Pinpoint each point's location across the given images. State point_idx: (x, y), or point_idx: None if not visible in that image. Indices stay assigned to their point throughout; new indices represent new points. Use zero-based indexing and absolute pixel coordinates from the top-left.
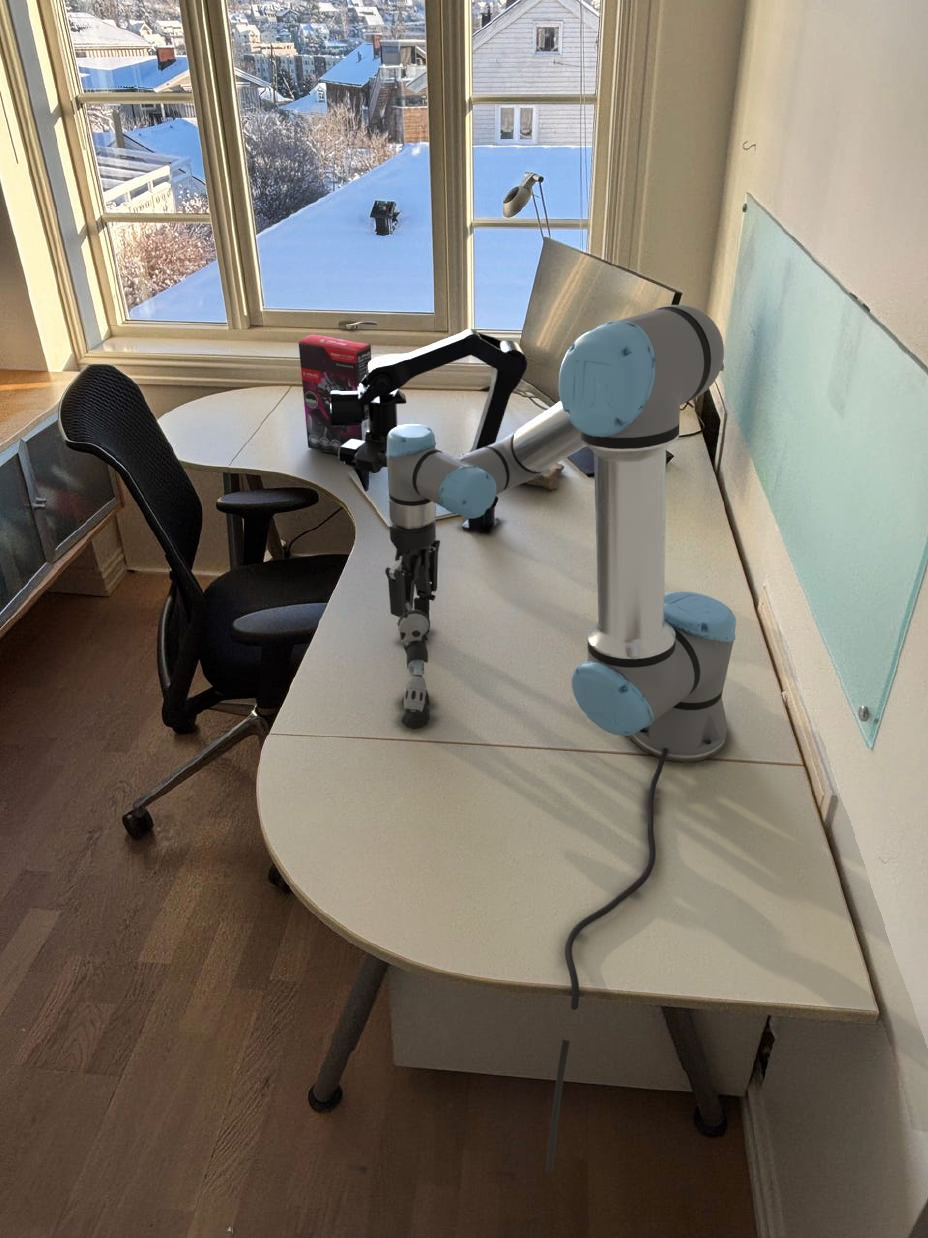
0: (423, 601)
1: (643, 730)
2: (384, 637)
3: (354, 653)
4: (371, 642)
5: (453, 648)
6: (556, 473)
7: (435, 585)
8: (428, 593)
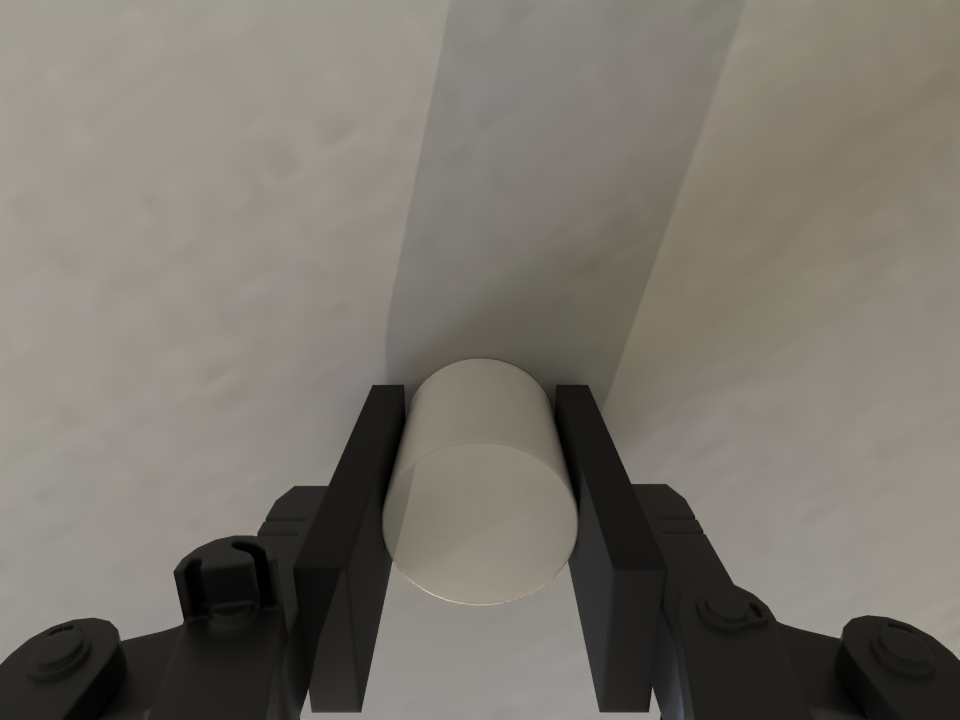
0: (337, 614)
1: None
2: None
3: None
4: None
5: (443, 110)
6: None
7: (19, 702)
8: (248, 670)
